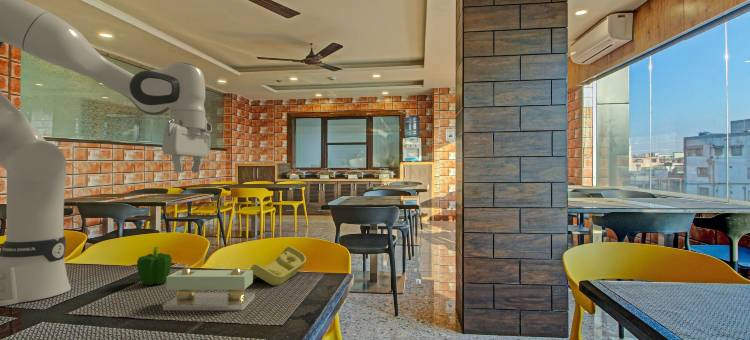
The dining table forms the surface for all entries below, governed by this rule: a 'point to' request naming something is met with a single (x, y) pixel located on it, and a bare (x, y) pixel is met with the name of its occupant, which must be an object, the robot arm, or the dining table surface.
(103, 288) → the dining table surface
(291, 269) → the plastic component
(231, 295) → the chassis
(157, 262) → the bell pepper
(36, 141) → the robot arm
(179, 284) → the board
